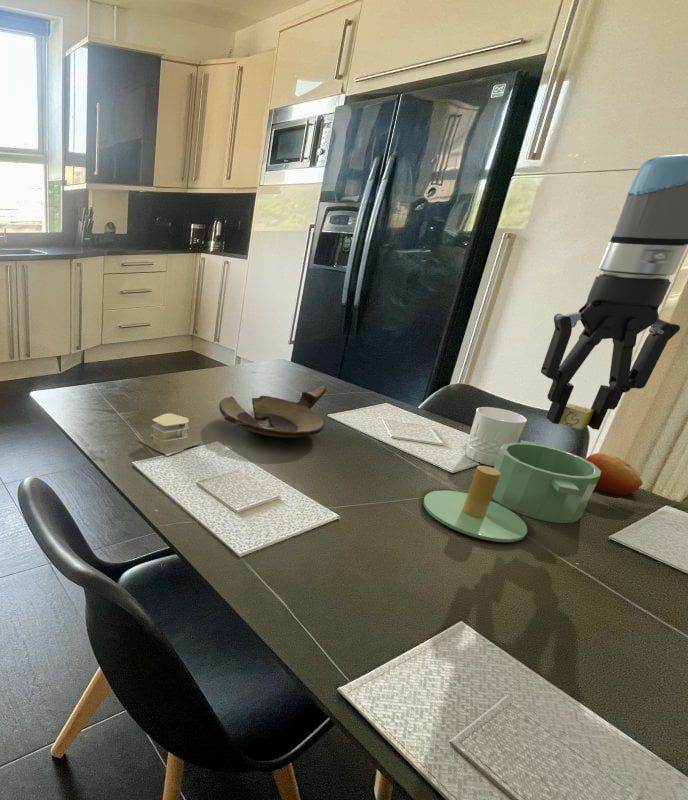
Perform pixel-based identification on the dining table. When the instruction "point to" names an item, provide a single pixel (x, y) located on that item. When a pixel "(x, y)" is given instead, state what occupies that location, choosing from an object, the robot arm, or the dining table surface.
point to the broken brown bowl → (277, 415)
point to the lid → (477, 510)
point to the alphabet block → (576, 416)
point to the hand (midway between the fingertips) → (571, 423)
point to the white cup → (493, 433)
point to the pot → (544, 482)
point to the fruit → (615, 475)
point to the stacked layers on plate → (169, 429)
